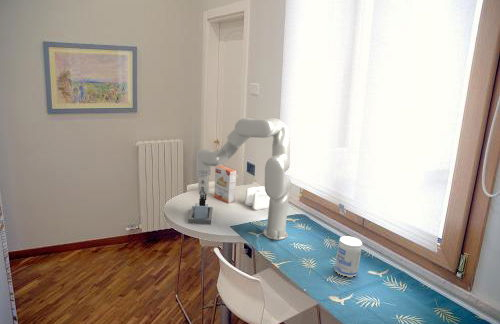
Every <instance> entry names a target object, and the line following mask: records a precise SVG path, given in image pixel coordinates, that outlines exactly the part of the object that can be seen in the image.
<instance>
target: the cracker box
mask: <svg viewBox="0 0 500 324" xmlns="http://www.w3.org/2000/svg"><path fill="white" fill-rule="evenodd" d="M237 172H238V170H236V169H233V168H230V167H227V166H225V165H218V166H215V171H214V173H215V175H214V176H215V177H214V194H213V195H214V196H213V197H214V198H216V199H218V200H220V201H222V202H224V203H225V204H226V203H227V204H232V203H235V200H236V188H237V187H236V185H237Z"/></svg>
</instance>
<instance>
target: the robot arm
mask: <svg viewBox="0 0 500 324" xmlns="http://www.w3.org/2000/svg"><path fill="white" fill-rule="evenodd" d="M290 135H291V134H290V130H289V127H288V126H287V124H286V123H285V122H284V121H283V120H282V119H279V118H276V117H269V118H265V119H255V118H254V117H253V118H252V117H244V118H241V119H239V120H237V122H236V123H235V125H234V129H233V130H232V131H231V132H230V133H228V135H227V141H226V142H225V144H224V145H223V146H221V147H220V148H219V149H217V150H215V151H211V150H209V149H199V150H196V167H195V168H196V172H195V173H196V177H198V178H197V179H198V181H197V182H198V194H199V199H198V200H199V202H198V204H199V206H205V204H206V200H207V195H208V194H209V190H210V189H209V186H210V185H209V184H210V183H209V181H210V180H209V177H211V167H217V166H221V165H222V164H224V163H226V162H227V161H229V159H231V158H232V157H233V156H234V155H235V154H236V153H237V152H238V150H239V149H240V147H242V146H243V145H244V144H245V142H247V141H248V140H249V139H250V138H262V139H265V138H270V137H272V138H273V139H272V147H271V148H272V150H271V151H272V153H271V157H270V158H268V160H267V161H266V163H265V164H264V166H265V167H264V187H265V191H266V194H267V195H268V196H269V197H270V200H269V209H267V210H268V212H267V220H266V221H267V222H266V228H265V229H264V230H263V231H262V233H263V236H265V237H266V238H268V239H270V240H276V241H281V240H285V239H287V238H288V236H289V233H288V231H286V230H287V229H286V228H287V217H288V207H289V201H290V194H291V189H292V183H291V179H290V178H289V177H288V176H287V175H285V173H286V172H287V171H288V170H289V168H290V167H291V166H290V165H291V162H290V161H291V159H290V157H291V156H290V155H291V154H290V153H291V149H290V148H291V147H290V146H291V140H290V139H291V137H290Z"/></svg>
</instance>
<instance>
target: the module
mask: <svg viewBox="0 0 500 324" xmlns="http://www.w3.org/2000/svg"><path fill="white" fill-rule="evenodd" d="M194 206H195V211H194V214H193V217H194V218H198V219H208V217H209V212H208V207H209V203H205V206H199V202H197V203H195V204H194Z"/></svg>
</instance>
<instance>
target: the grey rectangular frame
mask: <svg viewBox="0 0 500 324" xmlns="http://www.w3.org/2000/svg"><path fill="white" fill-rule="evenodd" d="M193 213H194V214H195V205H191V208H190V210H189V215H188V220H187V224H191V225H212V220H213V219H212V217H213V206H208V217H207V219H198V218H193V217H194V214H193Z"/></svg>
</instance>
